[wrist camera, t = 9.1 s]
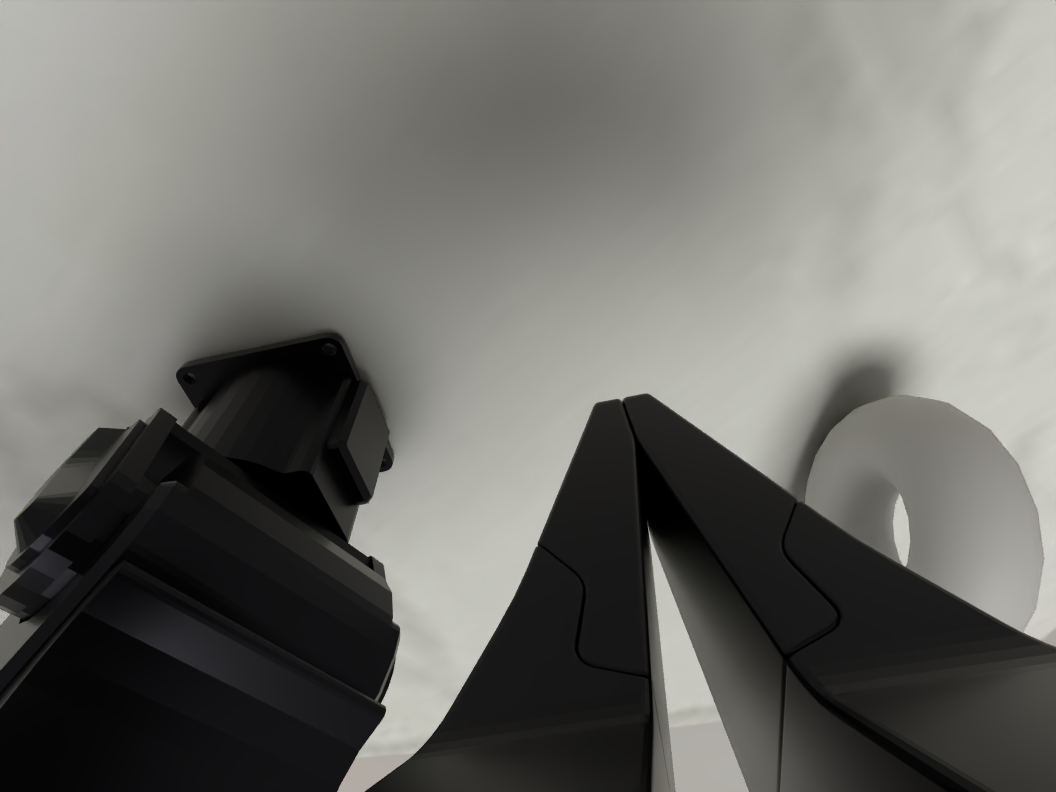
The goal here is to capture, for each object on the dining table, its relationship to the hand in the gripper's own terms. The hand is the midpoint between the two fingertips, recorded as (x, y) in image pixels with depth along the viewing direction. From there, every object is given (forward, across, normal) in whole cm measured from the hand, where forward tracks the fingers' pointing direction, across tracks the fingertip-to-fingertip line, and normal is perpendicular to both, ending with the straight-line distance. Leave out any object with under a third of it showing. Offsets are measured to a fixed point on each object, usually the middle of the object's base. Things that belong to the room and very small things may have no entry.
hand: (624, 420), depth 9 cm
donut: (+13, -10, +13) cm, 21 cm away
